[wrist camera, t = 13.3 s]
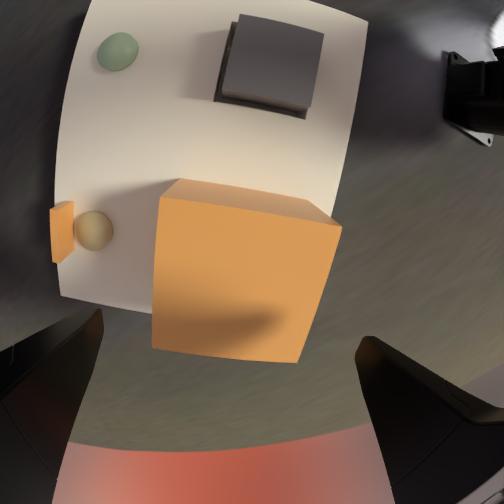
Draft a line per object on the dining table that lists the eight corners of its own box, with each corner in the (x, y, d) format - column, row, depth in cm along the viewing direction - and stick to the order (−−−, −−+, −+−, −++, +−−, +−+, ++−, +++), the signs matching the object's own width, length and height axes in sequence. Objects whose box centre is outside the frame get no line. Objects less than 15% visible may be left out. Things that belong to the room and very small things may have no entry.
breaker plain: (307, 49, 13) (324, 33, 10) (295, 112, 14) (310, 107, 12) (236, 34, 12) (239, 13, 10) (222, 98, 14) (221, 88, 11)
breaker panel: (348, 35, 14) (384, 11, 10) (288, 306, 21) (304, 349, 17) (113, 3, 12) (85, -27, 7) (78, 275, 19) (47, 311, 14)
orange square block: (307, 199, 15) (342, 227, 11) (279, 307, 18) (297, 362, 13) (180, 178, 14) (159, 196, 10) (168, 293, 17) (151, 347, 12)
